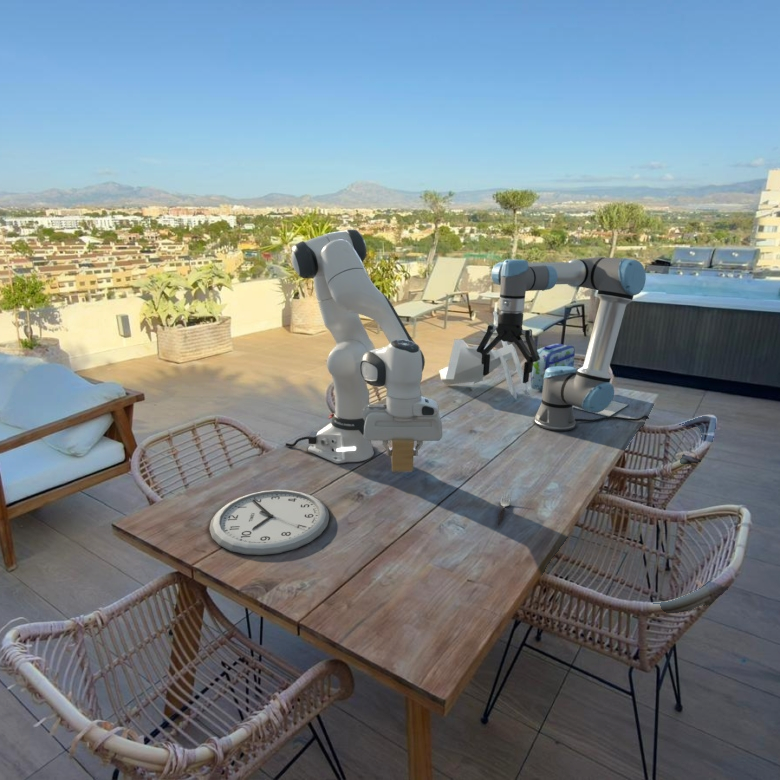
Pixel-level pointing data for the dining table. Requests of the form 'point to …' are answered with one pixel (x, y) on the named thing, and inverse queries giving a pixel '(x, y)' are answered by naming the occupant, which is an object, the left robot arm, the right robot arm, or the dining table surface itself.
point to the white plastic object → (480, 364)
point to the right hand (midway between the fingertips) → (505, 378)
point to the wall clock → (269, 522)
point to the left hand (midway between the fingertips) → (402, 455)
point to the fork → (504, 504)
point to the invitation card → (610, 408)
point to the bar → (402, 454)
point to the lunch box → (551, 362)
